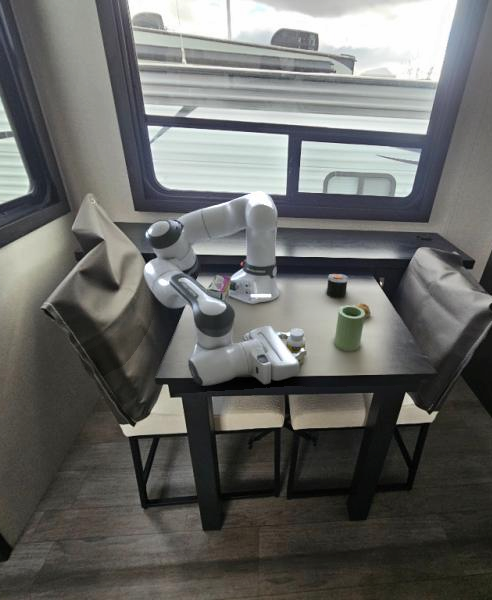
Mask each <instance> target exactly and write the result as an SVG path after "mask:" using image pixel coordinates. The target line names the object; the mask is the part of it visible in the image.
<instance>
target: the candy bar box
mask: <svg viewBox="0 0 492 600" xmlns="http://www.w3.org/2000/svg"><path fill="white" fill-rule="evenodd" d="M230 280H231V277H228V276H224V275H219V274H216V276H215V277H214V279H213V280H212V281H211V283H210V285H209V286H208V287H207V288H206V289H207V290H208V291H209V292H210V293H211V294H213V295H214V296H216V297H218V298H220V299H222V300H224V301H226V302H227V303H229V297H230V296H229V290H230Z"/></svg>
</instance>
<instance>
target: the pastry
mask: <svg viewBox="0 0 492 600" xmlns="http://www.w3.org/2000/svg"><path fill="white" fill-rule="evenodd" d="M354 306H357V307H360V308H361V309H363V310H364V311H365V318H368V317H369V316H371V314H372V313H371V309H370V306H368V305H367V304H366V303H363V302H362V303H361V302H360V303H359V304H355V305H354Z"/></svg>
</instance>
